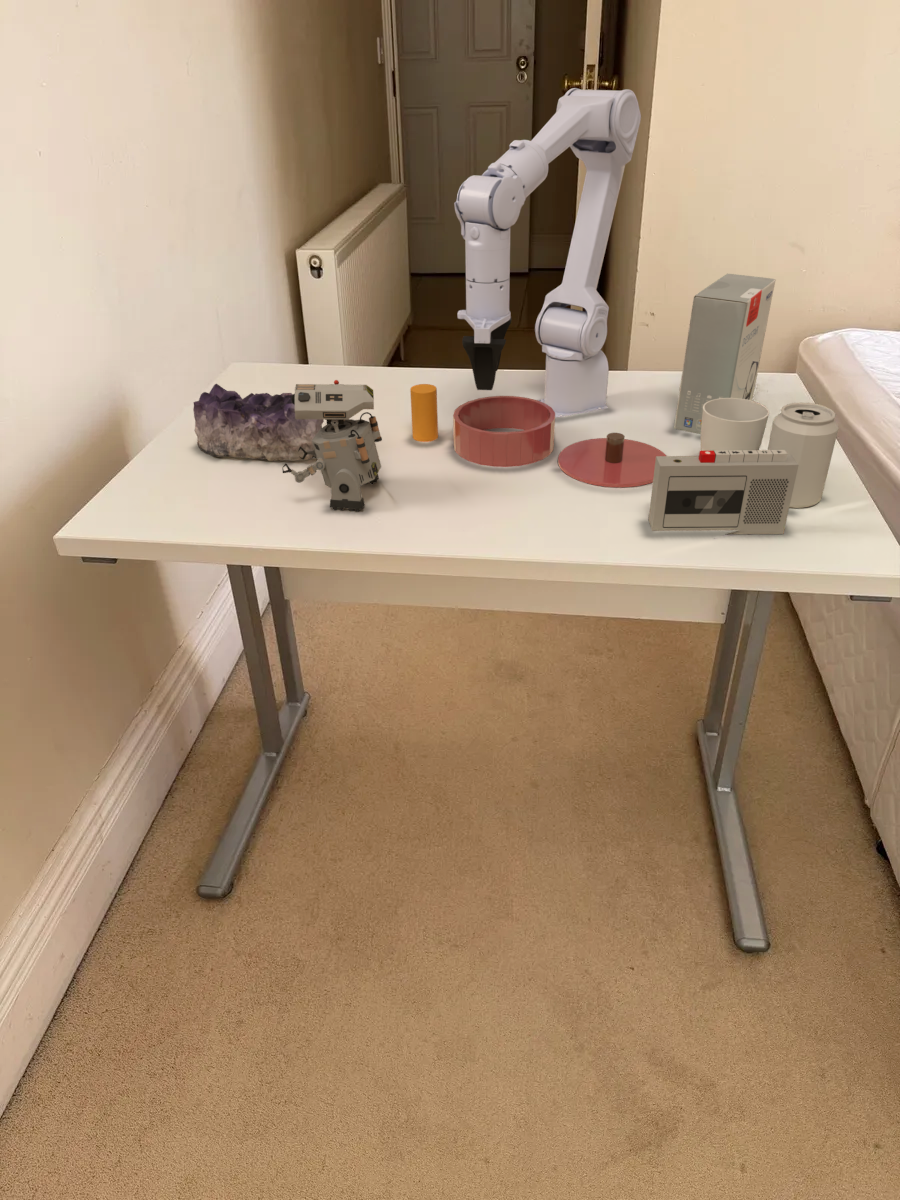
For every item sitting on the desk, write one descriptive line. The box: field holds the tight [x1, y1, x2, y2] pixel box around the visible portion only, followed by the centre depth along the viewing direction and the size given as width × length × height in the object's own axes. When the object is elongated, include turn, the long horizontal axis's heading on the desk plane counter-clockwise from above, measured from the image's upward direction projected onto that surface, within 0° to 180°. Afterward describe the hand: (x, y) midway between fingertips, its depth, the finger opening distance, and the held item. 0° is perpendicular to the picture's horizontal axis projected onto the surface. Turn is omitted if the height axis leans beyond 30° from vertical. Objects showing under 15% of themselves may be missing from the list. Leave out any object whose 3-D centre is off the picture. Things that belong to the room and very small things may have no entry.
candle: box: [409, 383, 439, 443], centre depth 126 cm, size 4×4×8 cm
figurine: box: [281, 379, 383, 512], centre depth 110 cm, size 9×12×15 cm
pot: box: [452, 395, 556, 468], centre depth 124 cm, size 14×14×5 cm
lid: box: [557, 432, 667, 488], centre depth 118 cm, size 15×15×5 cm
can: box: [767, 402, 840, 509], centre depth 107 cm, size 8×8×12 cm
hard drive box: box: [673, 273, 777, 435], centre depth 127 cm, size 16×8×20 cm, turn 148°
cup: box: [699, 398, 770, 451], centre depth 112 cm, size 8×8×10 cm
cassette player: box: [648, 449, 799, 535], centre depth 101 cm, size 16×3×10 cm, turn 89°
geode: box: [192, 383, 325, 462], centre depth 124 cm, size 20×12×10 cm, turn 84°
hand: (487, 379), depth 120 cm, fingers open, 7 cm apart
